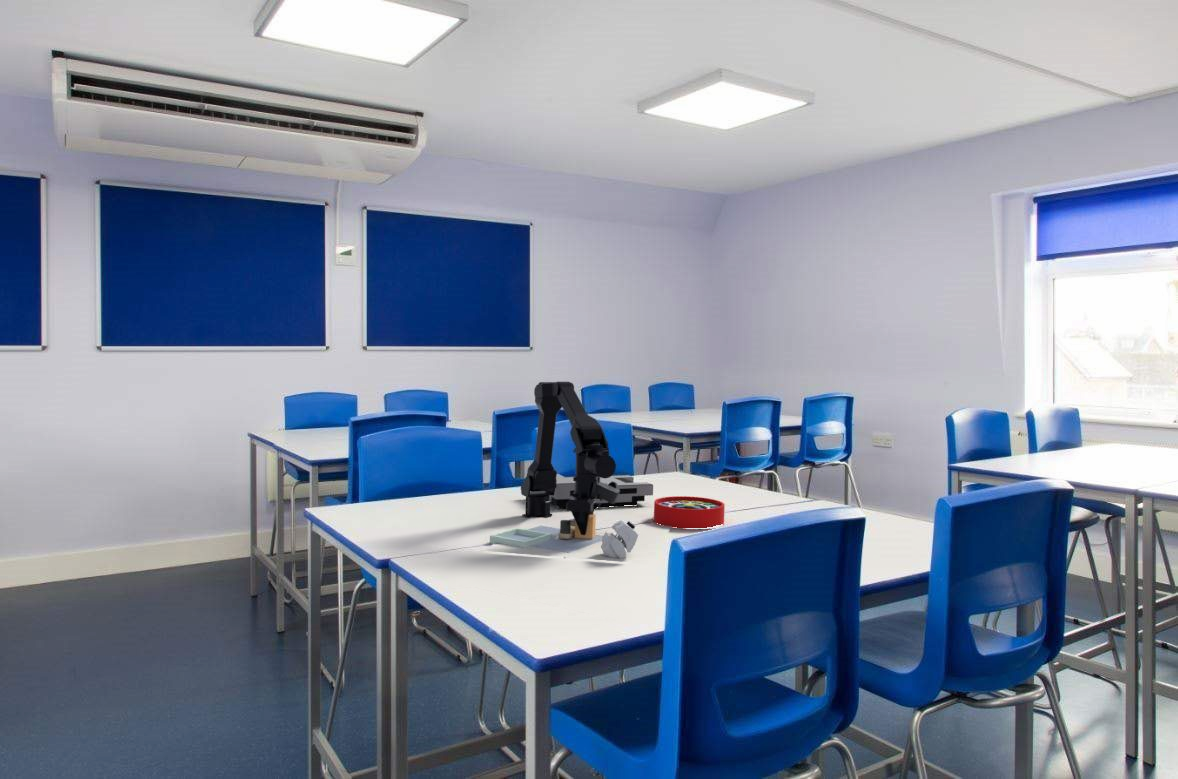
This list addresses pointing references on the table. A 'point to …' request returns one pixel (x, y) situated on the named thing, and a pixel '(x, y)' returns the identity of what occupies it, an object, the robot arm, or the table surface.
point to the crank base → (558, 540)
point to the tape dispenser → (619, 540)
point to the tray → (502, 539)
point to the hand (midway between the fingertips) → (585, 533)
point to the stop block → (590, 528)
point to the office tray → (625, 483)
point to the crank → (567, 529)
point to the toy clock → (688, 512)
